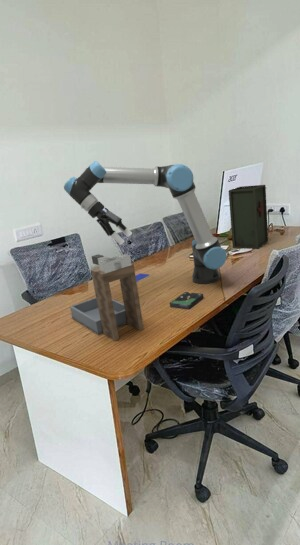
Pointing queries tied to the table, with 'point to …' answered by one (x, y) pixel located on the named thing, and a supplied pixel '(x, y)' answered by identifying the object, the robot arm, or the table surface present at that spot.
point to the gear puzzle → (222, 236)
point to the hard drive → (141, 277)
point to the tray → (96, 314)
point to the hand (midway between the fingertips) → (126, 239)
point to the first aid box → (248, 216)
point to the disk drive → (186, 300)
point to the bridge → (106, 303)
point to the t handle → (111, 262)
